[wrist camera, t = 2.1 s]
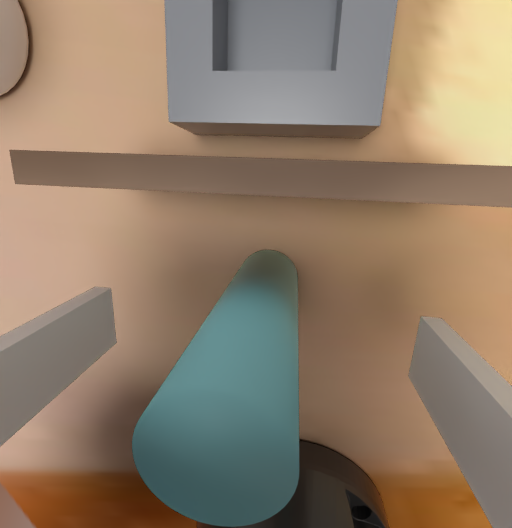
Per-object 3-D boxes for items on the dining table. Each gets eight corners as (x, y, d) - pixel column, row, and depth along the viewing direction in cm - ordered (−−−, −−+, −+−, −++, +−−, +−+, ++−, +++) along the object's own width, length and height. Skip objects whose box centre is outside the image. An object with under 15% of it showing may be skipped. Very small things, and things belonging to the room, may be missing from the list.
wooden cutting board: (424, 196, 18) (544, 208, 9) (137, 183, 20) (15, 183, 11) (428, 175, 17) (556, 167, 9) (136, 164, 20) (9, 149, 11)
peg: (295, 308, 21) (292, 539, 7) (238, 303, 21) (137, 511, 8) (300, 252, 20) (306, 401, 6) (240, 247, 20) (125, 378, 7)
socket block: (361, 138, 17) (380, 125, 14) (195, 134, 19) (168, 121, 15) (389, -81, 15) (421, -174, 11) (192, -70, 16) (159, -150, 12)
